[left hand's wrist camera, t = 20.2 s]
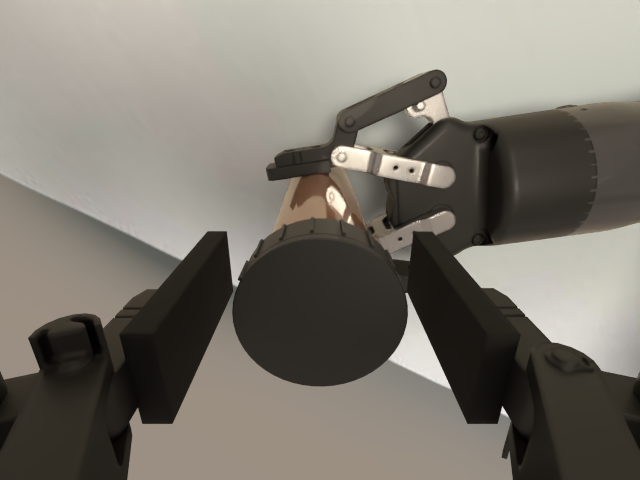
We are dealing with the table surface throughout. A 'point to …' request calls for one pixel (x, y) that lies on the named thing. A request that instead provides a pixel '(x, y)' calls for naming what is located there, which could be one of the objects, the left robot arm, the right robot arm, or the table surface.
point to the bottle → (320, 200)
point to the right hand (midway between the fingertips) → (278, 213)
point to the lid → (320, 303)
